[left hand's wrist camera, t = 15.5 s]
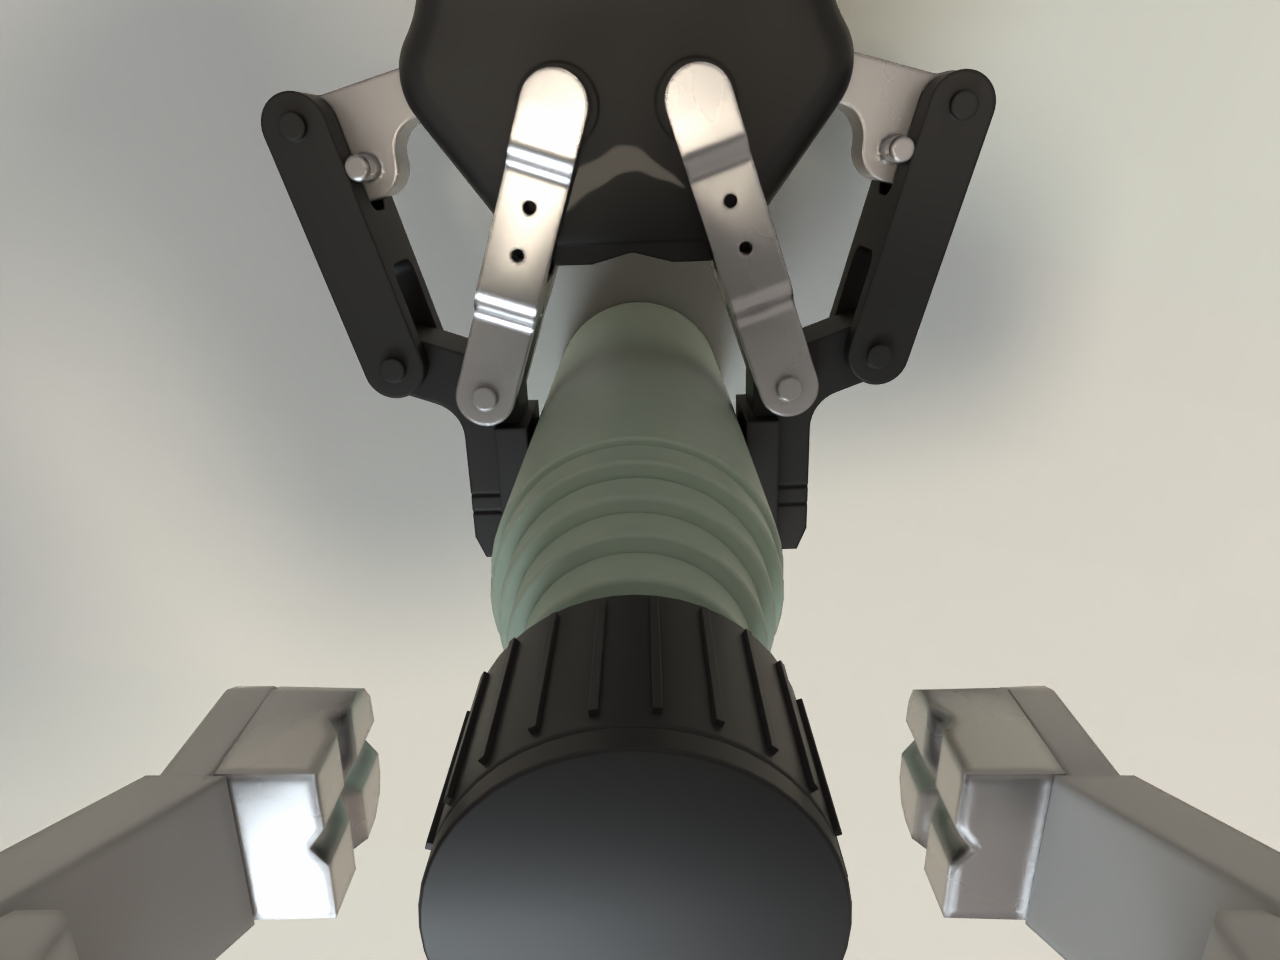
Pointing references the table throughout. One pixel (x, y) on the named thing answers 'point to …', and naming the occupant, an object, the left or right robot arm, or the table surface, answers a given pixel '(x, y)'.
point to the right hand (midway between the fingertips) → (643, 559)
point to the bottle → (638, 484)
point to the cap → (635, 800)
